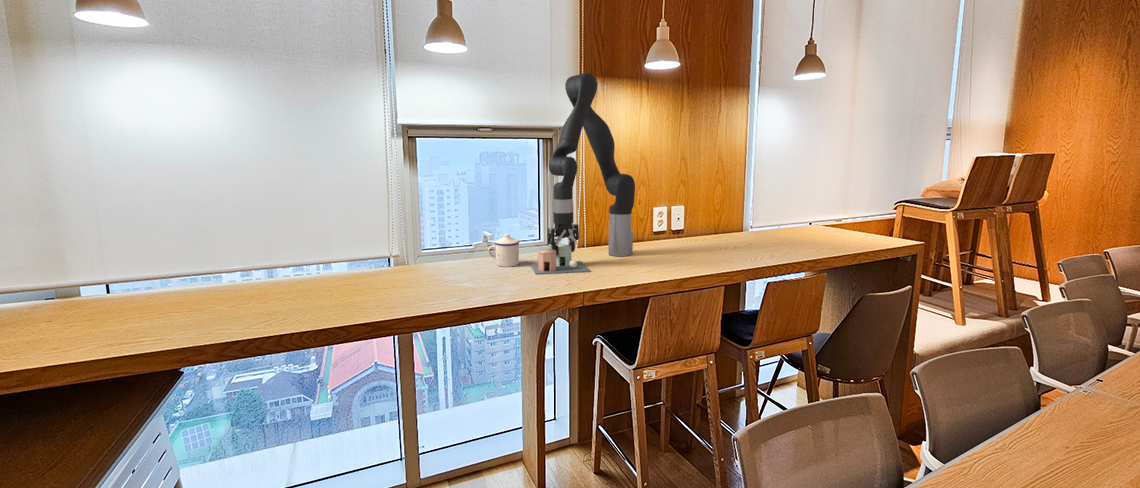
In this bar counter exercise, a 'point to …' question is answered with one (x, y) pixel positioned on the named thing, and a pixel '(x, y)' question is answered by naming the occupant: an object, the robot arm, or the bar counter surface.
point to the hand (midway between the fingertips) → (563, 253)
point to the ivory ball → (572, 264)
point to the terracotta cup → (547, 259)
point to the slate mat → (561, 268)
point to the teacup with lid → (506, 251)
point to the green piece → (563, 255)
